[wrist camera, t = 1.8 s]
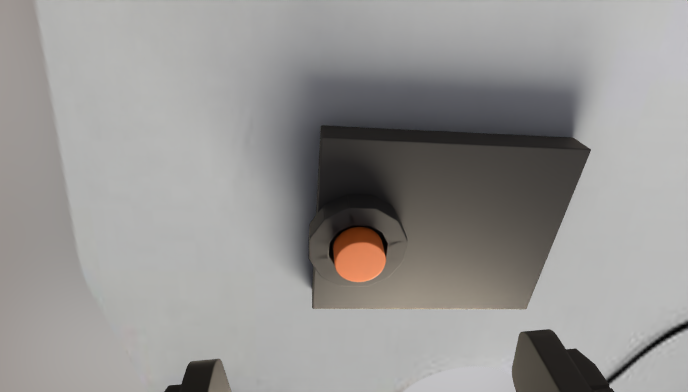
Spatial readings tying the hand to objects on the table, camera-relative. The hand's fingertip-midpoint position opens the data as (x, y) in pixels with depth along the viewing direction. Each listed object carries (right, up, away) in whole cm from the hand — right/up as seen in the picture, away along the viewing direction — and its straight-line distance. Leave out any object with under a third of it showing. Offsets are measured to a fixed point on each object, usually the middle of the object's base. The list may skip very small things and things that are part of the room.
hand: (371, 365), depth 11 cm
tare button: (0, +2, +14) cm, 14 cm away
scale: (+5, +3, +17) cm, 18 cm away
